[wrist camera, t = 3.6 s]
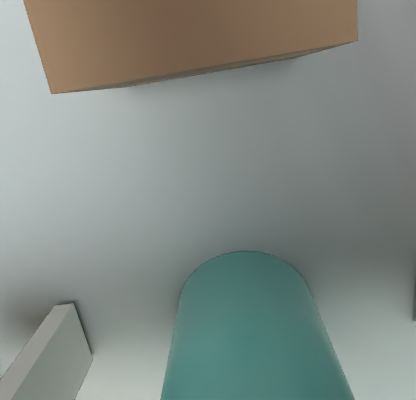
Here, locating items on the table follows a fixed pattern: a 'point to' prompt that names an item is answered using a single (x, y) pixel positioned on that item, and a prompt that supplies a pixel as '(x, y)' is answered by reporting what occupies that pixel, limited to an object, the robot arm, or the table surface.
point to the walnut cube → (177, 37)
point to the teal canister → (250, 336)
